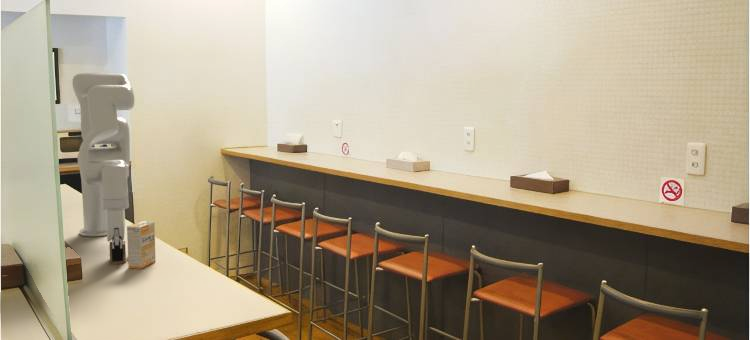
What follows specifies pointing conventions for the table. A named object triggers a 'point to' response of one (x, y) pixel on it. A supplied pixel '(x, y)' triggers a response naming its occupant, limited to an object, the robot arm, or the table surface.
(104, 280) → the table surface
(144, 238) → the supplement box
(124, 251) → the walnut block
